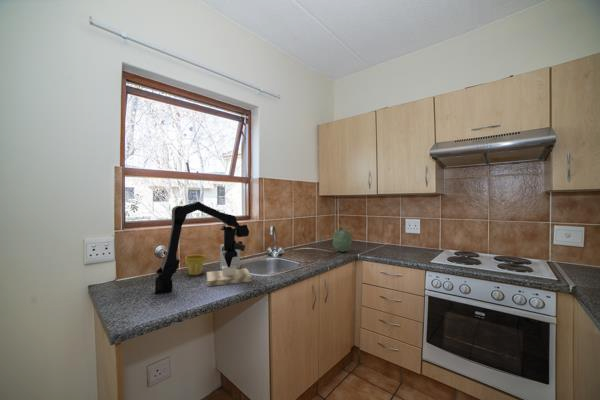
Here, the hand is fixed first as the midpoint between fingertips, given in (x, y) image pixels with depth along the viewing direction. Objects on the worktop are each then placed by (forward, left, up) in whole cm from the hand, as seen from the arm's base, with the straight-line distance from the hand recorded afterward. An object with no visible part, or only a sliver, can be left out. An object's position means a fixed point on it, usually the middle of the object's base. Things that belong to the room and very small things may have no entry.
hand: (228, 266), depth 130 cm
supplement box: (+3, +20, -7) cm, 21 cm away
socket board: (0, 0, -6) cm, 6 cm away
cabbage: (+97, +40, -7) cm, 105 cm away
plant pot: (-17, +16, -7) cm, 24 cm away
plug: (0, 0, -6) cm, 6 cm away
